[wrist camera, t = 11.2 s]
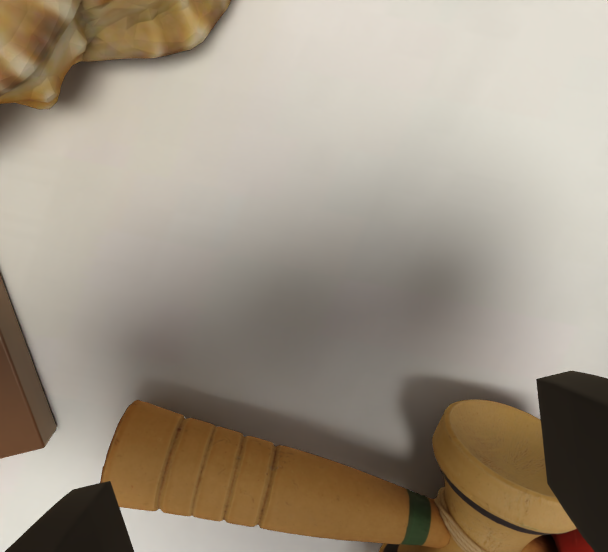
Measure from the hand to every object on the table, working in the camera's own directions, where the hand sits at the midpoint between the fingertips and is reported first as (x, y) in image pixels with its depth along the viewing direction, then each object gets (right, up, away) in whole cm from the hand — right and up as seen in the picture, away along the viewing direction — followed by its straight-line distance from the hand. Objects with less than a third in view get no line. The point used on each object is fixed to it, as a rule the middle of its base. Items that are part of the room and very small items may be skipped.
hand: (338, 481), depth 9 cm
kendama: (+2, -3, +10) cm, 11 cm away
